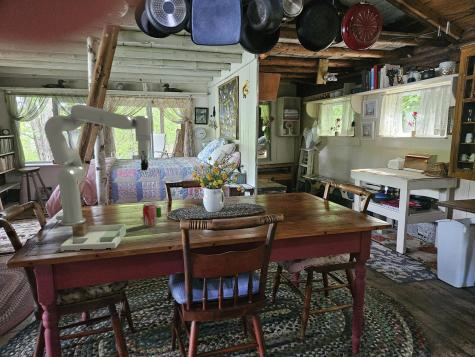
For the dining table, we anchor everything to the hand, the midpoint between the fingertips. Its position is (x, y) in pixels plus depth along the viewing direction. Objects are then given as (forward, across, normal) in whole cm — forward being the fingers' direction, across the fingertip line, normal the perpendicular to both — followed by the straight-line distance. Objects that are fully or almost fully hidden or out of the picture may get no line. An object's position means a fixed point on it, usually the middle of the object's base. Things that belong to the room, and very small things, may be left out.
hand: (144, 169), depth 171 cm
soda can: (+30, +10, +2) cm, 32 cm away
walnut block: (+27, +24, -30) cm, 47 cm away
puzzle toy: (+30, -7, +4) cm, 31 cm away
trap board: (+30, +29, -22) cm, 47 cm away
